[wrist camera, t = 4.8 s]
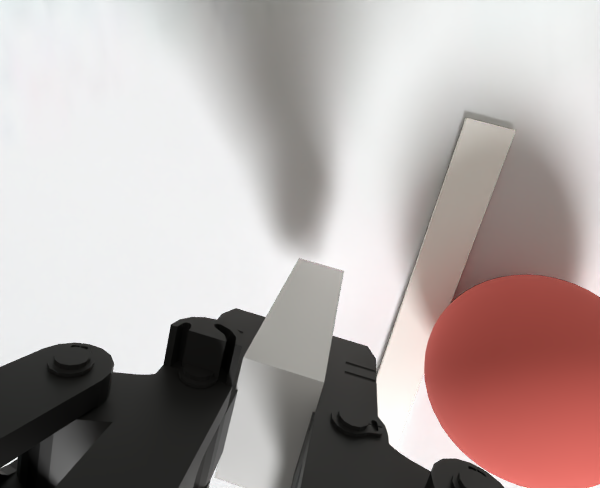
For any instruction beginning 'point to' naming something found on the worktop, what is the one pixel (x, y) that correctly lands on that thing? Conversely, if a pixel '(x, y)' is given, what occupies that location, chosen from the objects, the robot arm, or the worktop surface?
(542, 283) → the ball
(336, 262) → the worktop surface
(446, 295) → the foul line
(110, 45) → the worktop surface
